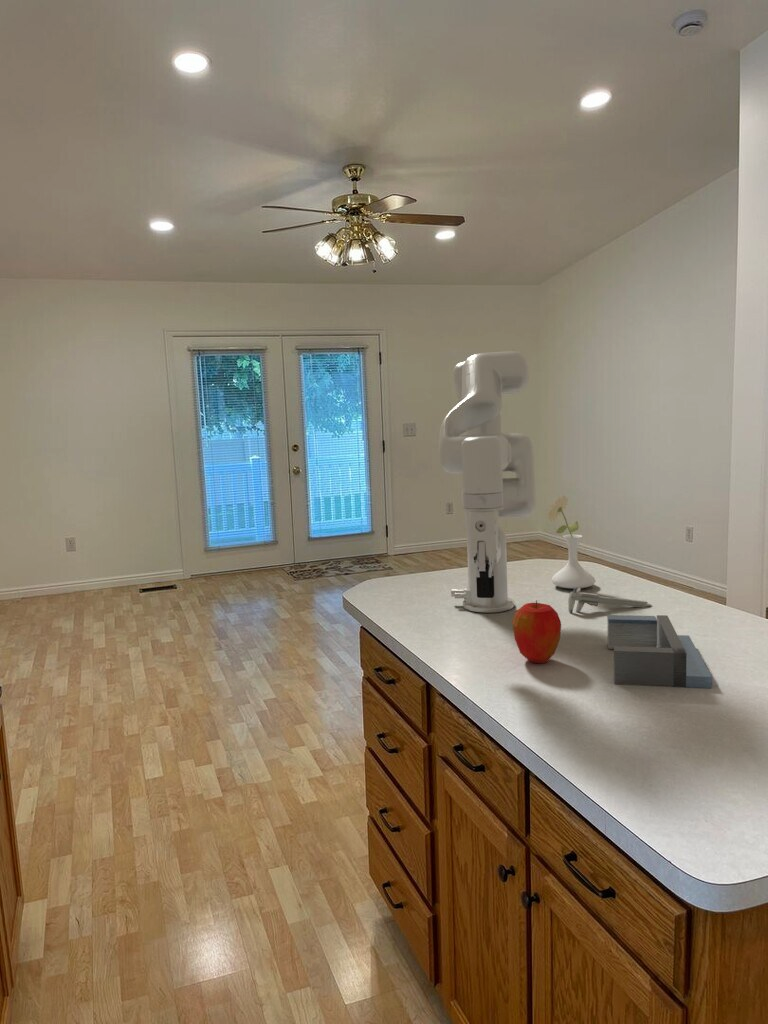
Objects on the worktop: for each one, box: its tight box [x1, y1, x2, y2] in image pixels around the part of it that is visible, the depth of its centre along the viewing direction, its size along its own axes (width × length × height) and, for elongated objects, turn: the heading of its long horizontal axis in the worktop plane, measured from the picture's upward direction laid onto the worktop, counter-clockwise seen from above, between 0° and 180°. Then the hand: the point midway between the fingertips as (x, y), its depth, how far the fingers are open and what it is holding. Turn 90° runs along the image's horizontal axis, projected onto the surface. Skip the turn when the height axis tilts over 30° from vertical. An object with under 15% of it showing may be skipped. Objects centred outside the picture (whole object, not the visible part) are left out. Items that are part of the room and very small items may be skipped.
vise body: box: [613, 614, 713, 689], centre depth 130 cm, size 16×22×6 cm
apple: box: [512, 600, 562, 664], centre depth 134 cm, size 9×9×12 cm
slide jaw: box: [606, 614, 657, 650], centre depth 139 cm, size 9×3×6 cm, turn 76°
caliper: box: [568, 587, 653, 614], centre depth 166 cm, size 20×1×6 cm, turn 98°
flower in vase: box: [546, 494, 596, 590], centre depth 186 cm, size 13×11×25 cm
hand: (485, 596), depth 135 cm, fingers closed
